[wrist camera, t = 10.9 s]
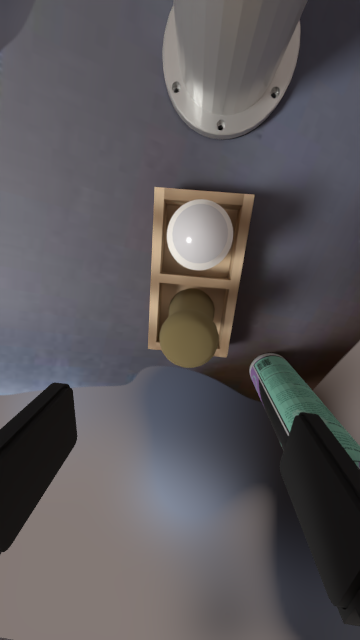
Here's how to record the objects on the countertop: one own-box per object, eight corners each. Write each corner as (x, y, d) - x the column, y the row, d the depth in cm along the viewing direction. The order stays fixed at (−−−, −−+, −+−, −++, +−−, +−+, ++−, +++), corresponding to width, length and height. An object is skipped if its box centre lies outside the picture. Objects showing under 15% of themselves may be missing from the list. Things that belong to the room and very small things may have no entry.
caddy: (160, 196, 24) (154, 187, 21) (246, 203, 24) (254, 194, 20) (153, 338, 30) (148, 348, 26) (223, 345, 29) (226, 357, 26)
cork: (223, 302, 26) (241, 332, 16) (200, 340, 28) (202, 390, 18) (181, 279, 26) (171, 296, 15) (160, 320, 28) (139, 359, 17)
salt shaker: (178, 217, 24) (166, 191, 14) (223, 220, 24) (242, 196, 14) (175, 263, 25) (162, 268, 16) (217, 267, 25) (230, 274, 16)
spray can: (243, 379, 31) (320, 584, 11) (259, 347, 29) (380, 526, 10) (277, 390, 31) (410, 612, 12) (295, 360, 29) (485, 560, 10)
